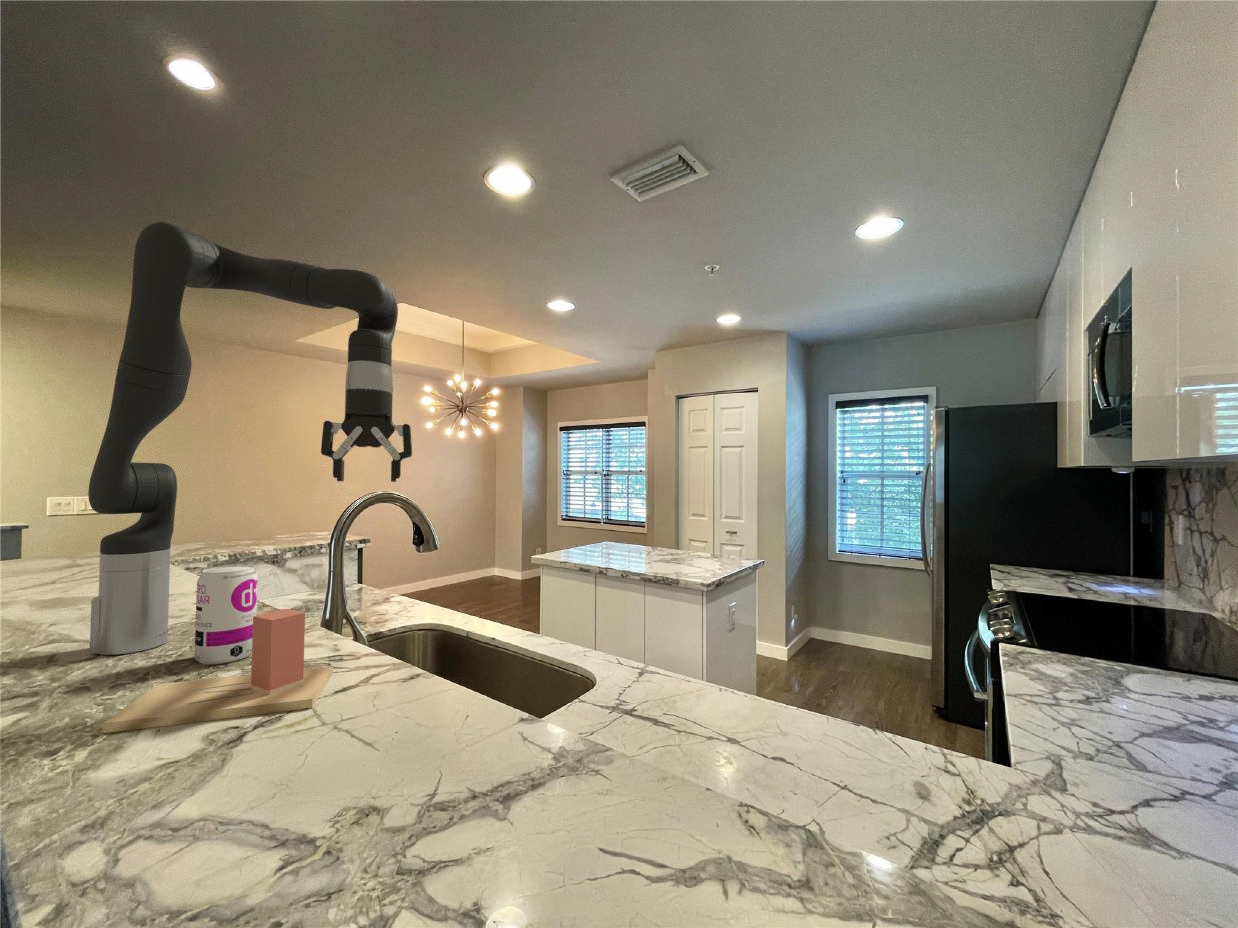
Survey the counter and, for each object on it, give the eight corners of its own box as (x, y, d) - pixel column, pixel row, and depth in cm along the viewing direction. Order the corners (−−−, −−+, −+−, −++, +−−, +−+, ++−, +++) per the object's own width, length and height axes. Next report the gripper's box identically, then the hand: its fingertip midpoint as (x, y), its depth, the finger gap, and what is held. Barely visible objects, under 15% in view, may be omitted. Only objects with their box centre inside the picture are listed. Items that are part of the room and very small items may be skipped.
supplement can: (267, 649, 89) (269, 565, 90) (226, 667, 81) (229, 573, 82) (225, 648, 90) (227, 564, 91) (181, 664, 82) (183, 572, 82)
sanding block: (269, 694, 68) (271, 620, 68) (250, 688, 70) (252, 616, 70) (303, 682, 72) (305, 612, 72) (284, 676, 74) (286, 608, 74)
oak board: (102, 733, 60) (102, 722, 60) (158, 692, 71) (158, 683, 71) (312, 707, 67) (312, 698, 67) (332, 674, 78) (332, 666, 78)
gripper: (318, 384, 83) (316, 481, 83) (411, 389, 88) (409, 482, 87) (329, 391, 90) (327, 481, 90) (414, 396, 95) (412, 481, 94)
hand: (367, 481), depth 89 cm, fingers open, 8 cm apart
